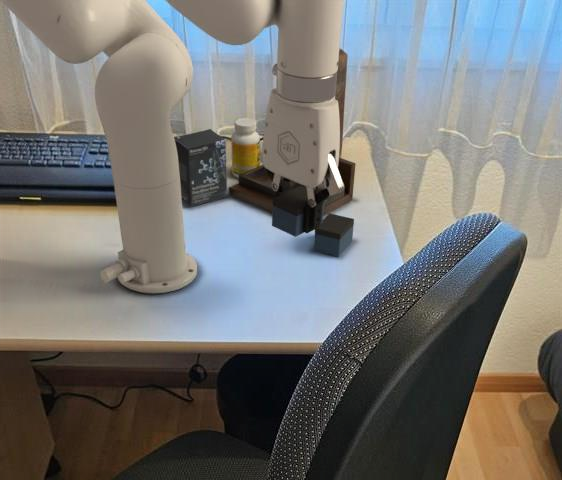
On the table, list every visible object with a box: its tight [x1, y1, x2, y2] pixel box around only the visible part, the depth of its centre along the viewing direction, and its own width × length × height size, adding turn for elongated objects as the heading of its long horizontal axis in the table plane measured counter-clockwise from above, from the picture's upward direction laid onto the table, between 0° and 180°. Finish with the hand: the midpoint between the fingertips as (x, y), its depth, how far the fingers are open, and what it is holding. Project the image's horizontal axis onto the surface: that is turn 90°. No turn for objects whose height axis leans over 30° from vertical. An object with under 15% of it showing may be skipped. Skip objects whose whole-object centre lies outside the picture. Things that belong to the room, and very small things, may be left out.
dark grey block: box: [271, 186, 324, 238], centre depth 106 cm, size 6×4×4 cm
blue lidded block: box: [313, 212, 355, 258], centre depth 125 cm, size 6×4×4 cm
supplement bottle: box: [230, 117, 261, 179], centre depth 142 cm, size 5×5×10 cm
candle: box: [335, 47, 349, 158], centre depth 143 cm, size 8×7×20 cm
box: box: [174, 128, 228, 208], centre depth 134 cm, size 8×6×11 cm
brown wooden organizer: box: [228, 157, 357, 217], centre depth 136 cm, size 14×18×7 cm
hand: (297, 221), depth 107 cm, fingers closed on dark grey block, 4 cm apart
